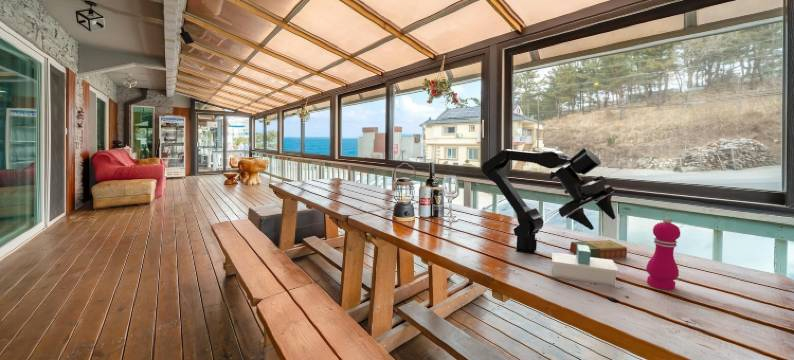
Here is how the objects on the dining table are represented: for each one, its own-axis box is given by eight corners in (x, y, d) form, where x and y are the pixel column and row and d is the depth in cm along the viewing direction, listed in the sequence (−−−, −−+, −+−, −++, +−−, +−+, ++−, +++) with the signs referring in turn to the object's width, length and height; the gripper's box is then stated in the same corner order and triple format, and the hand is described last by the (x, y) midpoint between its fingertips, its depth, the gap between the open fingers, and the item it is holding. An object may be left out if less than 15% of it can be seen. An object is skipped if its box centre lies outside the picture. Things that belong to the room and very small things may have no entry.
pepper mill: (679, 293, 89) (687, 221, 86) (646, 287, 92) (653, 218, 90) (674, 283, 95) (682, 216, 92) (643, 278, 98) (649, 213, 96)
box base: (552, 276, 100) (553, 264, 99) (552, 267, 107) (553, 255, 106) (615, 286, 93) (616, 272, 92) (610, 275, 100) (611, 263, 100)
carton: (626, 258, 115) (628, 247, 115) (584, 260, 114) (585, 248, 113) (609, 250, 124) (610, 239, 123) (569, 251, 122) (570, 240, 121)
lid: (552, 264, 99) (553, 248, 98) (551, 254, 107) (552, 240, 106) (618, 273, 92) (619, 256, 91) (612, 262, 100) (613, 247, 99)
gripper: (564, 180, 98) (598, 225, 92) (609, 161, 104) (644, 203, 97) (545, 196, 108) (575, 238, 102) (587, 178, 113) (618, 217, 107)
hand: (603, 224), depth 102 cm, fingers open, 9 cm apart
